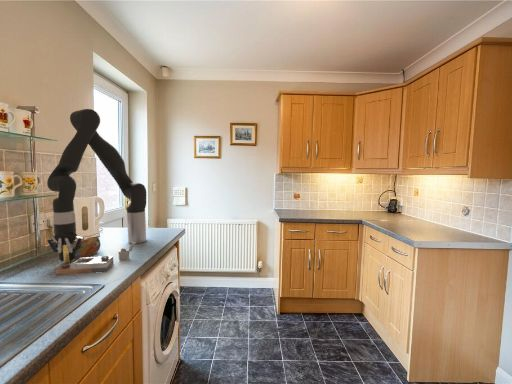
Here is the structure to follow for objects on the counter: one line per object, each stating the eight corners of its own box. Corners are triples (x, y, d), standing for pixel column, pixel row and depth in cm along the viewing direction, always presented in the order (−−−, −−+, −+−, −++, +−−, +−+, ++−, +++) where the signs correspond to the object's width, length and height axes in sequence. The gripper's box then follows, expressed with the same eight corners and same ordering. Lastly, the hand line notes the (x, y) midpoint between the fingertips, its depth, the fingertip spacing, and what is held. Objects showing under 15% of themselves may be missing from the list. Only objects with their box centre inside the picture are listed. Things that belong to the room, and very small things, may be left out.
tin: (74, 262, 112) (73, 244, 111) (68, 261, 112) (67, 243, 111) (101, 251, 126) (100, 234, 125) (96, 250, 127) (95, 234, 126)
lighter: (118, 260, 114) (117, 243, 113) (119, 259, 116) (118, 242, 115) (135, 259, 116) (135, 242, 115) (136, 257, 118) (135, 241, 117)
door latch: (66, 267, 106) (66, 255, 106) (113, 264, 109) (113, 253, 109) (55, 275, 99) (54, 262, 98) (106, 272, 102) (105, 260, 101)
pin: (66, 262, 111) (64, 242, 110) (73, 262, 112) (72, 242, 111) (62, 265, 108) (60, 245, 107) (69, 264, 109) (68, 244, 108)
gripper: (86, 219, 113) (89, 256, 115) (52, 220, 111) (55, 258, 113) (77, 223, 105) (80, 262, 107) (40, 224, 103) (44, 264, 105)
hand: (67, 260), depth 110 cm, fingers closed on pin, 3 cm apart
